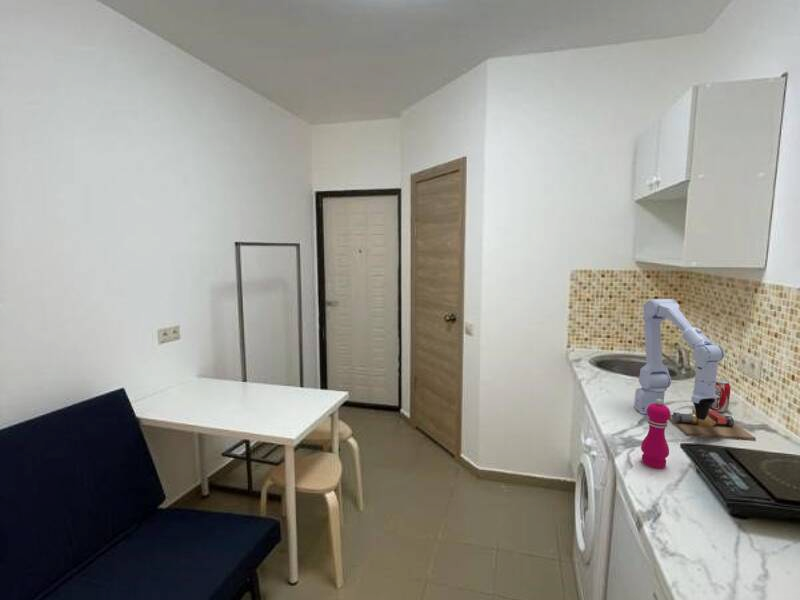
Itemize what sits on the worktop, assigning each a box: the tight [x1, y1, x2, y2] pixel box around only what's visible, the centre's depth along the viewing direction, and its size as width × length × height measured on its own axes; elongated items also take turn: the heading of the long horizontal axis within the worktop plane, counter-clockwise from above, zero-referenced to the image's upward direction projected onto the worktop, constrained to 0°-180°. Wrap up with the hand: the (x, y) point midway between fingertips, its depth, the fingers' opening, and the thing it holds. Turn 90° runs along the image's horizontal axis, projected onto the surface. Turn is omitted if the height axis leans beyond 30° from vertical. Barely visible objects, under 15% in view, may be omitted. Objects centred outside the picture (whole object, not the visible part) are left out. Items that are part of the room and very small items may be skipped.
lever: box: [707, 409, 727, 424], centre depth 149 cm, size 13×3×2 cm, turn 171°
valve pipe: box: [672, 408, 735, 427], centre depth 154 cm, size 18×5×5 cm, turn 81°
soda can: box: [710, 377, 732, 413], centre depth 170 cm, size 7×7×12 cm
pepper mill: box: [640, 399, 672, 470], centre depth 128 cm, size 7×7×20 cm
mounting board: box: [668, 414, 756, 441], centre depth 154 cm, size 21×16×1 cm
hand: (701, 418), depth 146 cm, fingers closed
